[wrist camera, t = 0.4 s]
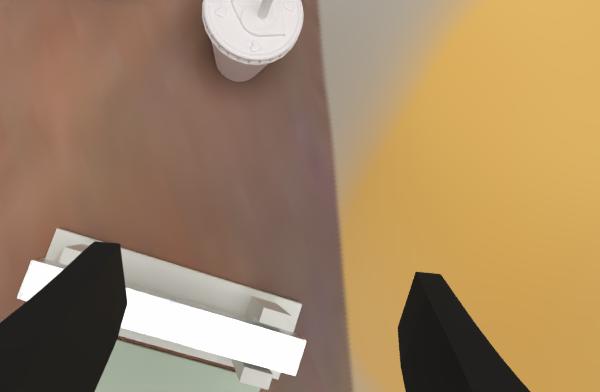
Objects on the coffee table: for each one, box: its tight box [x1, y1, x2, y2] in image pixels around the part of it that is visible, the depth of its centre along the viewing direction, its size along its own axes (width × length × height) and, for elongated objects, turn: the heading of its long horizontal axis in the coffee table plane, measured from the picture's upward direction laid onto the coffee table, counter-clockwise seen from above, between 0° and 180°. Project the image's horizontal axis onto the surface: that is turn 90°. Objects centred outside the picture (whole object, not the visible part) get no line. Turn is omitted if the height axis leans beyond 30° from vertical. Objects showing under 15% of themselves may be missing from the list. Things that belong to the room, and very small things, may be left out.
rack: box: [45, 228, 302, 390], centre depth 36 cm, size 6×19×7 cm, turn 71°
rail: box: [17, 258, 306, 376], centre depth 33 cm, size 2×18×2 cm, turn 71°
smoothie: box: [202, 0, 303, 82], centre depth 34 cm, size 6×6×14 cm
